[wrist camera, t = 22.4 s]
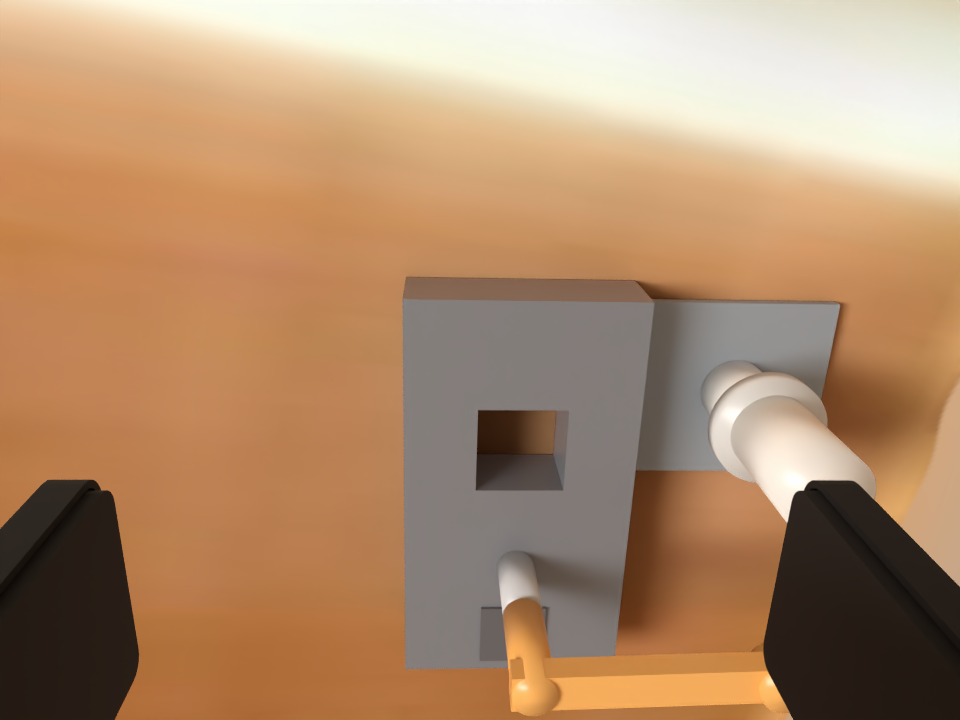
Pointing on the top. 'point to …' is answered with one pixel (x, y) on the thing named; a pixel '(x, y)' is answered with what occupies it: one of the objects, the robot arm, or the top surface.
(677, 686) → the clip
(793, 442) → the knob
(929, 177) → the top surface
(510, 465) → the grey slab
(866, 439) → the top surface
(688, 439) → the mat
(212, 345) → the top surface
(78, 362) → the top surface
